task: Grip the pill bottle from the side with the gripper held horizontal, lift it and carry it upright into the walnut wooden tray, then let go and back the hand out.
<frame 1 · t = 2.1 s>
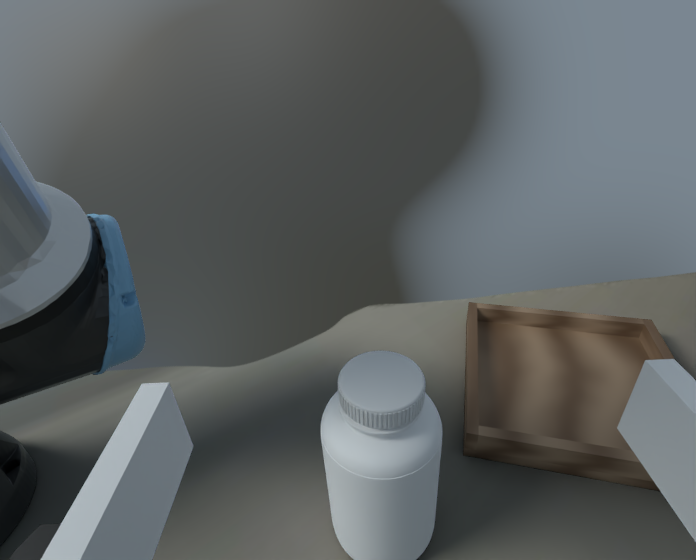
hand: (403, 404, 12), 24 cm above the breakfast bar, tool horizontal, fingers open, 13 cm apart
pill bottle: (382, 518, 33), on the breakfast bar
tray: (565, 389, 43), on the breakfast bar
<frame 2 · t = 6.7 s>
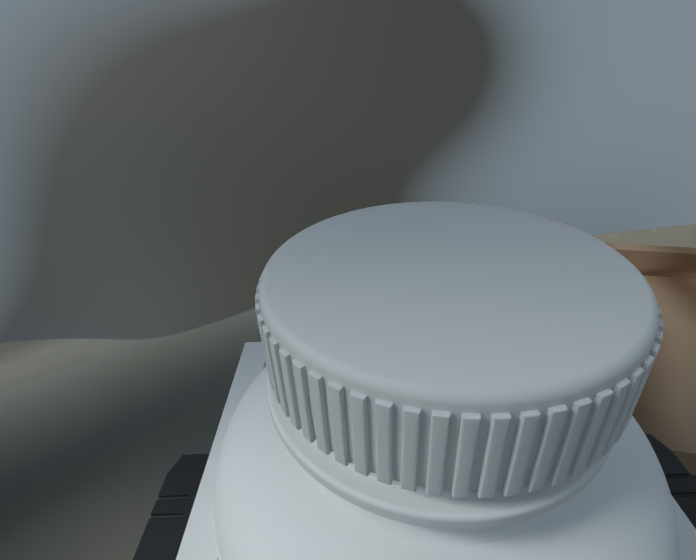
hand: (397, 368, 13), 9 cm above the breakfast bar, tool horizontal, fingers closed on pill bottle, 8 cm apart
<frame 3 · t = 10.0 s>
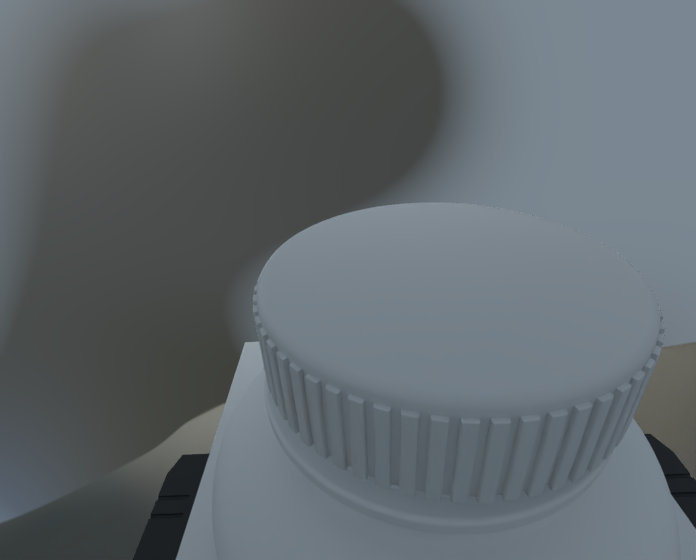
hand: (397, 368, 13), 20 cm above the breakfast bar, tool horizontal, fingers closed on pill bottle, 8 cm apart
when the fingers open (10 cm above the breakfast bar, at t = 13.6 s): pill bottle stays where it is, resting on tray.
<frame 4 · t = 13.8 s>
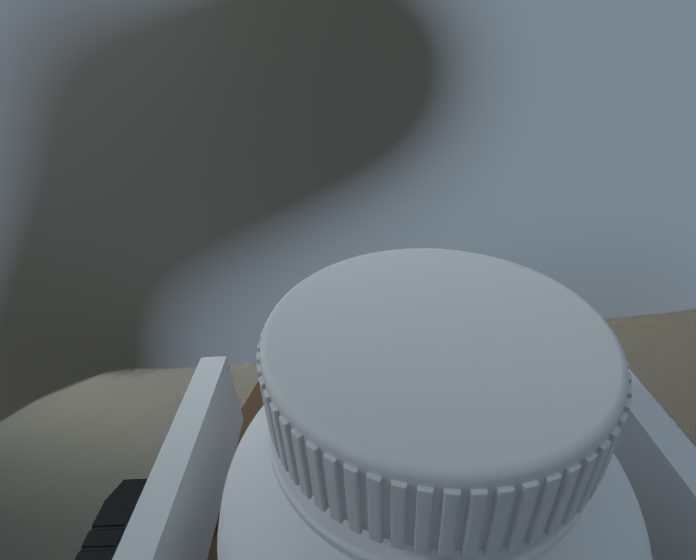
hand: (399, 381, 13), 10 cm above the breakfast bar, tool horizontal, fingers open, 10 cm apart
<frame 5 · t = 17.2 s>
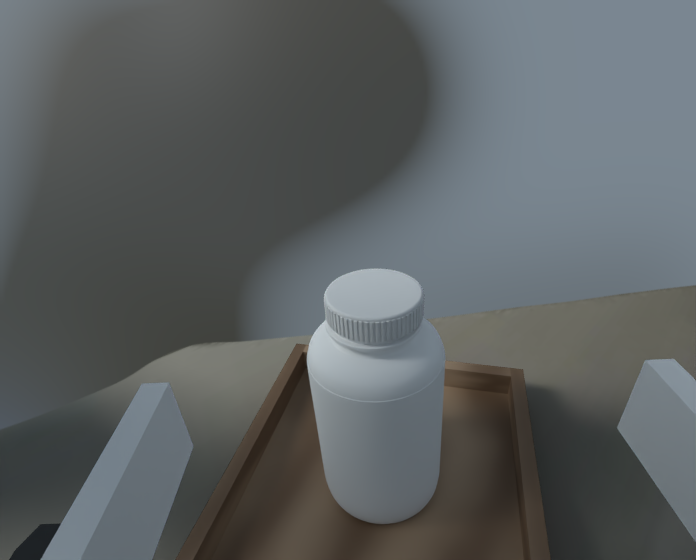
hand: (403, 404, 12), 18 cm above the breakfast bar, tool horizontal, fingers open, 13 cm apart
pill bottle: (381, 472, 29), point 1 cm above the breakfast bar, touching tray
tray: (382, 478, 30), on the breakfast bar
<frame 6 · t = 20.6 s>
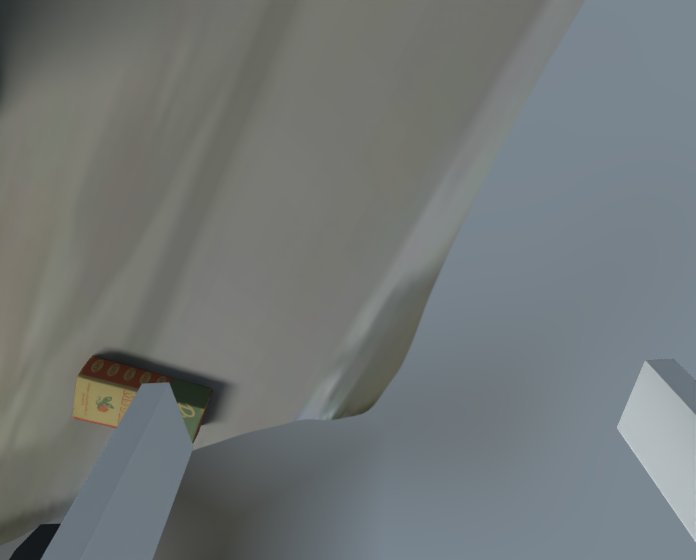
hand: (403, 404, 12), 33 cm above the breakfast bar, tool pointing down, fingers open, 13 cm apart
carton: (151, 390, 58), on the breakfast bar
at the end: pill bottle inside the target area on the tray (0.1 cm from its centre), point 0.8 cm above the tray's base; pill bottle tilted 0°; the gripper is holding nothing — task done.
